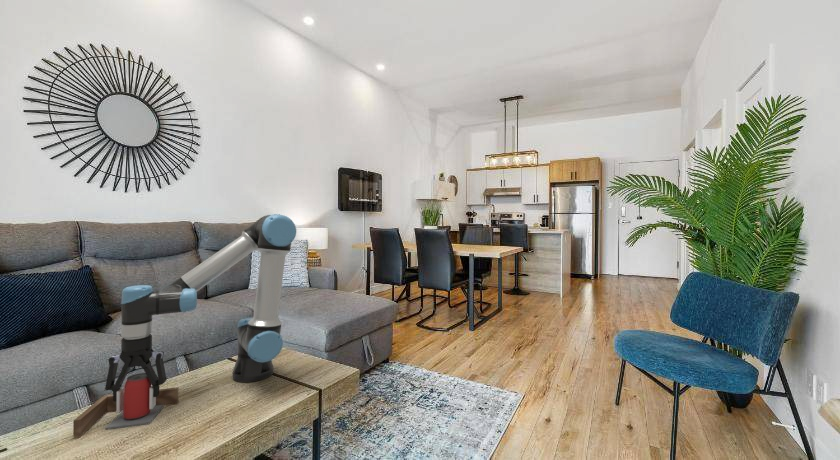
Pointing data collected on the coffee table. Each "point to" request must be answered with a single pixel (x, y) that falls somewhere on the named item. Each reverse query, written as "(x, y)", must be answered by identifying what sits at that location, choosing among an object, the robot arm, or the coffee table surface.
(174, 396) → the wooden corner frame
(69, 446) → the coffee table surface
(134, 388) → the beer can
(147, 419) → the coaster
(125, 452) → the coffee table surface
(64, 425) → the coffee table surface
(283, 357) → the coffee table surface
